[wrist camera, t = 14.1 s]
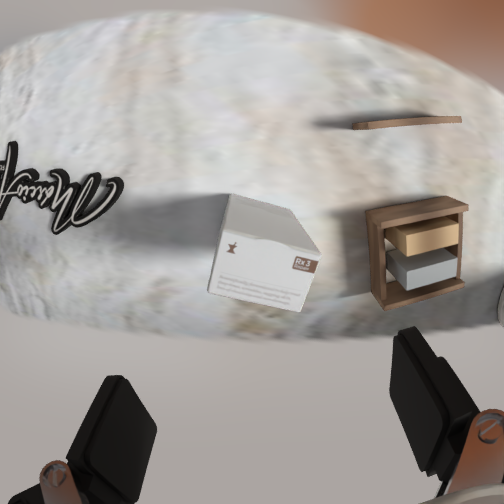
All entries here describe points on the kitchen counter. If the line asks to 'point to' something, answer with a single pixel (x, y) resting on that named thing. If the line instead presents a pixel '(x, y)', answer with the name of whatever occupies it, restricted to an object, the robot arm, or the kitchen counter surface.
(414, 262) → the slate offcut
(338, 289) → the kitchen counter surface
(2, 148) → the kitchen counter surface
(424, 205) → the walnut rack
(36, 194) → the nameplate
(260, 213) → the skincare box
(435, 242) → the oak offcut
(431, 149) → the kitchen counter surface
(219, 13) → the kitchen counter surface
